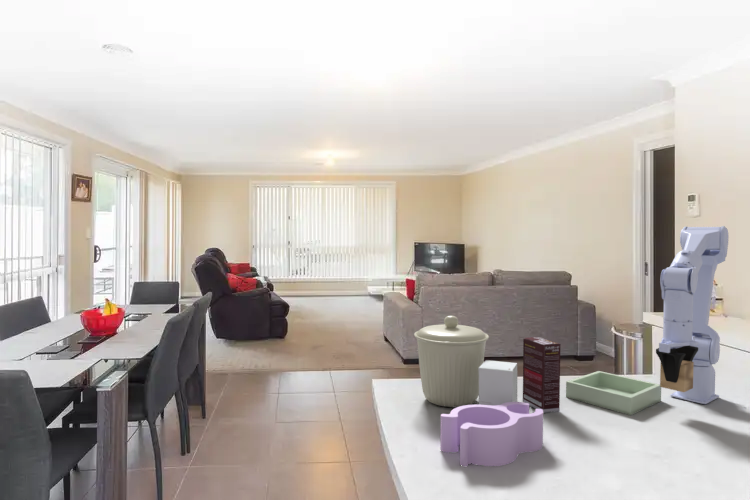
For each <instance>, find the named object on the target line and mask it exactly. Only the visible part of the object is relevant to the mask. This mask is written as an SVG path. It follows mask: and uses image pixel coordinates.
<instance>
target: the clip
mask: <svg viewBox="0 0 750 500" xmlns="http://www.w3.org/2000/svg"><path fill="white" fill-rule="evenodd" d="M534 409H535V408H534ZM439 441H440V443H439V444H440V447H439V449H440V450H441V451H443V452H442V453H449V452H456V453H458V452H459V466H460V465H462V466H461V467H463V466H467V467H468V466H469V465H475V464H477V465H476V466H480V465H484V467H500V466H506V465H508V464H511V463H513V462H514V461H516V459H517V458H518V455H519V454H523V453H532V452H537V451H539V450H542V449H543V445H544V443H543V441H544V413H543V410H542V409H535V411H534V412H532V413H530V405H529V403H524V402H523V401H517V402H507V403H503V404H501V405H479V404H470V405H464V406H460V407H454V408H453V409H452V410H451V411H450V413H441V414H440V440H439ZM441 451H440V452H441ZM471 463H472V464H471ZM468 464H469V465H468Z"/></svg>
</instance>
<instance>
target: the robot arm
mask: <svg viewBox="0 0 750 500" xmlns="http://www.w3.org/2000/svg"><path fill="white" fill-rule="evenodd" d="M679 235H680V236H679V244H680V248H681V250H680V251H678V252H677V253H676V255H675V256H674V258H673V260H672V262H671V263H670V266H669V267H666V268H664V269H662V270H661V271H660V272H661V273H660V279H659V280H660V281H659V283H660V290H661V299H662V300H663V316H662V317H663V323H662V324H663V327H662V338H661V341H660V342H659V343H658V348H656V349H655V354H656V356H657V357H658V359H659V361H660V365H661V364H662V367H663V370H664V375H665V379H666V381H670V382H674V383H676V382H677V381H678V377H679V371H680V366H681V363H682V360H686V361H691V362H694V367H693V388H692V389H690V390H688V391H686V392H680V391H674V392H673V393H670V394H669V395H670V397H672V398H676V399H680V400H685V401H689V402H694V403H697V404H700V405H701V404H702V405H707V404H709V403H711V402H713V401H714V400H716V399H719V398H720V395H719V394H716V369H715V368H714V366H713V365H716V364H717V363H719V360H720V351H721V349H720V348H721V347H720V345H721V344H720V342H721V338H720V335H719V333H718V332H717V331H716V330H715V329H713V328H712V327H711V326H710V325H709V321H710V314H711V313H710V312H711V305H712V297H713V289H714V280H715V273H716V270H717V267H718V265H719V264H722V263H723V262H726V258H727V255H728V247H729V230H728V228H727V227H726V226H725V225H722V226H683V228H681V230H680V234H679Z"/></svg>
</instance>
